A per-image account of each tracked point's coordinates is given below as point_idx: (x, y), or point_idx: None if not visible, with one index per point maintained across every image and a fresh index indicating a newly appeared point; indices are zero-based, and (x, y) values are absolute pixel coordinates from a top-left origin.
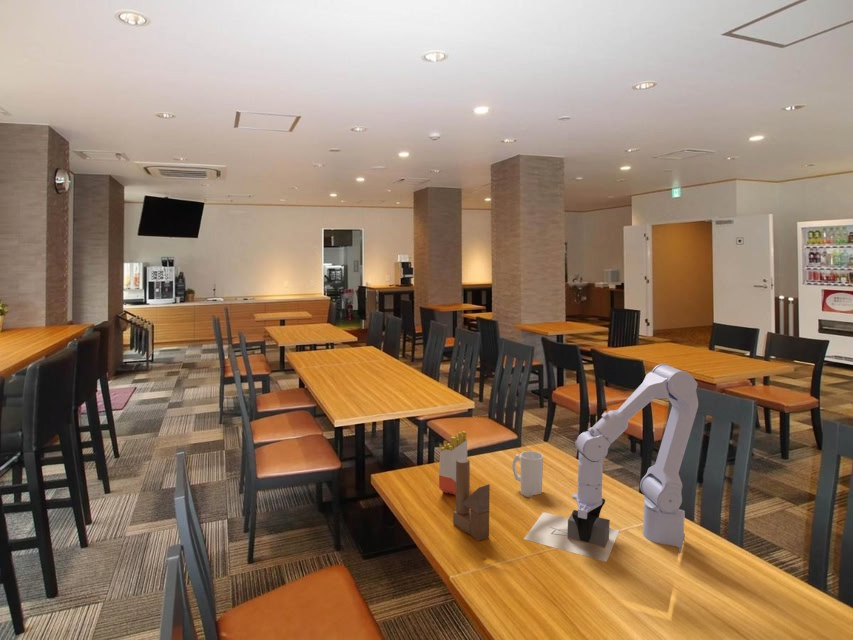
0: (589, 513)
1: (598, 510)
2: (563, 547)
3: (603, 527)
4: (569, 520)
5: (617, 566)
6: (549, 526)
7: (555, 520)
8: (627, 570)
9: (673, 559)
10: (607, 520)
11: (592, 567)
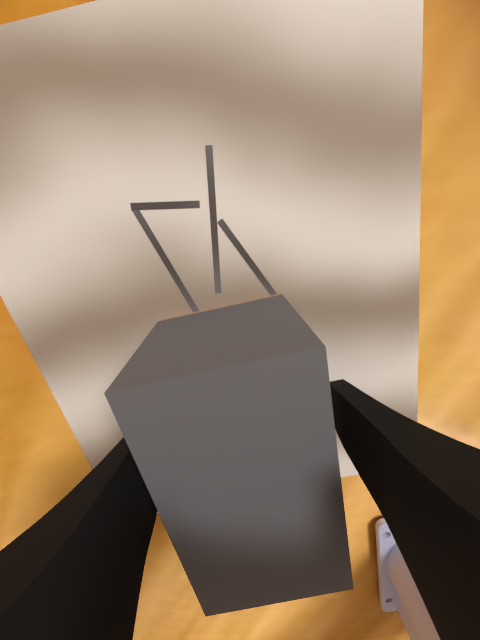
0: (382, 460)
1: (413, 572)
2: (55, 348)
3: (214, 605)
4: (113, 403)
5: (157, 524)
6: (216, 135)
7: (332, 124)
8: (161, 549)
9: (329, 599)
10: (336, 583)
11: (72, 475)
